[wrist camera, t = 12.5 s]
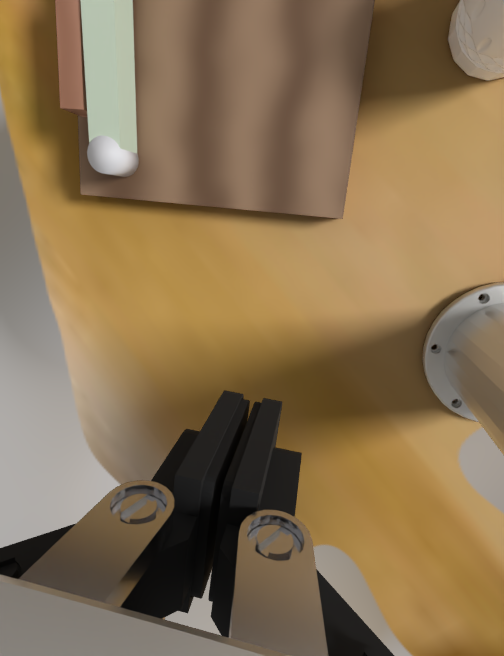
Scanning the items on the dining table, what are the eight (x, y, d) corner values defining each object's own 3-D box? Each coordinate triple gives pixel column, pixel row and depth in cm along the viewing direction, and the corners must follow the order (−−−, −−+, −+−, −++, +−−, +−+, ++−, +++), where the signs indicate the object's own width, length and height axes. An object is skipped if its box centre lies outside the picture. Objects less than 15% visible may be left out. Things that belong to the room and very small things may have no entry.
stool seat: (378, -43, 29) (392, -97, 24) (340, 218, 34) (345, 219, 29) (89, -48, 32) (45, -98, 27) (95, 195, 37) (59, 193, 32)
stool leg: (140, 177, 33) (122, 174, 30) (107, 176, 34) (87, 172, 31) (133, -64, 29) (111, -96, 26) (96, -62, 29) (70, -94, 26)
